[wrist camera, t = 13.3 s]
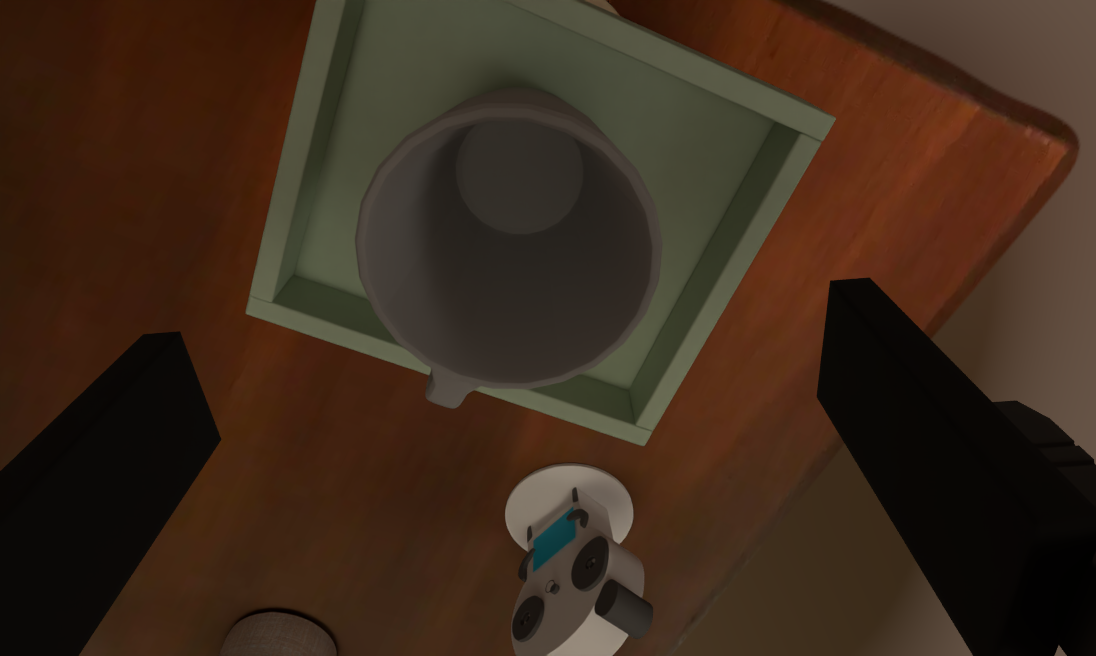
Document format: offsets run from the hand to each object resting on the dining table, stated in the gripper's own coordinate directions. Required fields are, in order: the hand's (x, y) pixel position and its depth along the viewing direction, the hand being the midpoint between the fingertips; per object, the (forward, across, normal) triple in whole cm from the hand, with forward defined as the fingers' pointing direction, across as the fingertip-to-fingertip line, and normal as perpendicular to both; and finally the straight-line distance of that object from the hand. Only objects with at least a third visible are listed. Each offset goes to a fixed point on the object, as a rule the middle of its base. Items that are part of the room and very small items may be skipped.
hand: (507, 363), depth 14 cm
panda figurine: (+35, 0, -37) cm, 51 cm away
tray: (+35, 0, -1) cm, 35 cm away
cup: (+12, -1, 0) cm, 12 cm away
